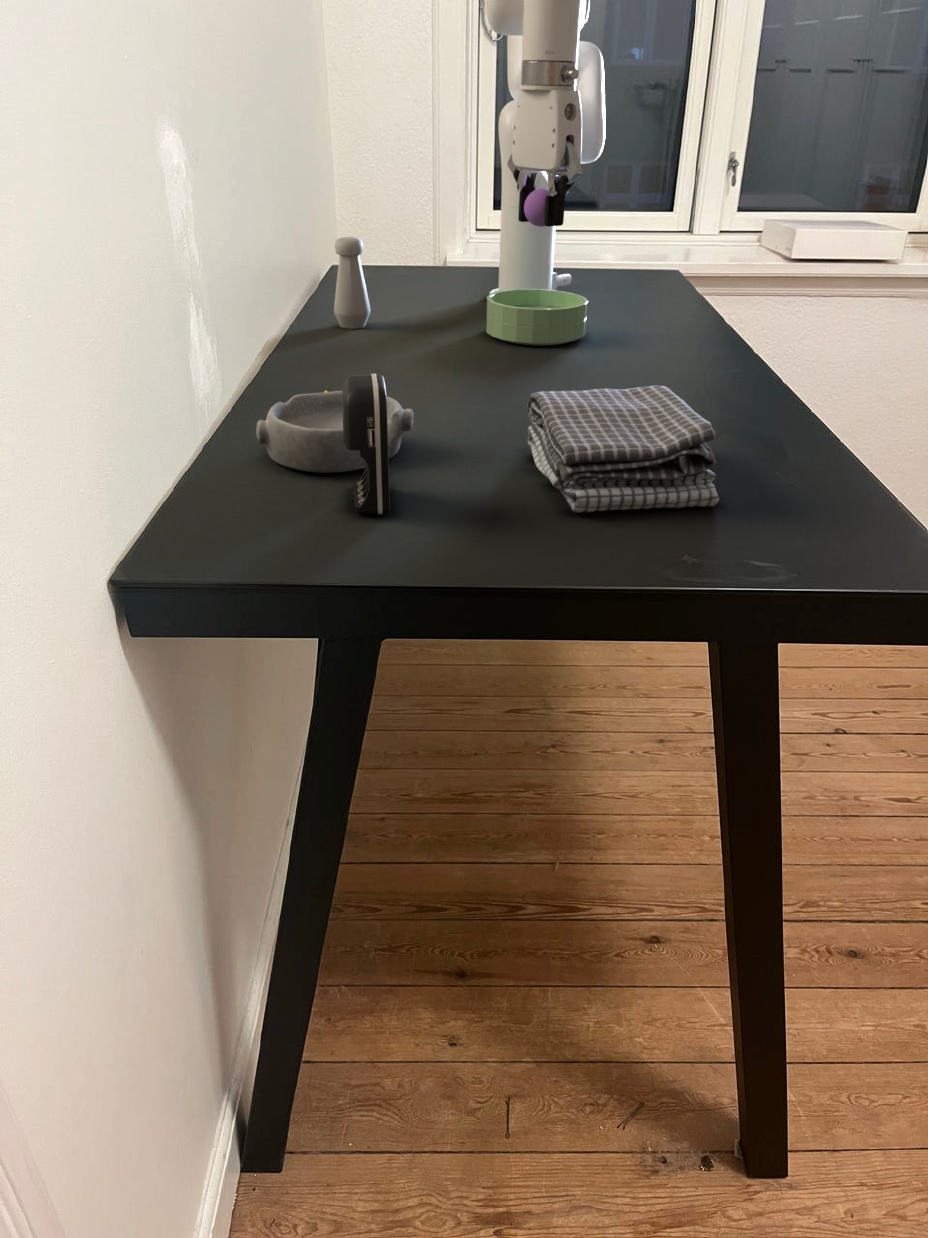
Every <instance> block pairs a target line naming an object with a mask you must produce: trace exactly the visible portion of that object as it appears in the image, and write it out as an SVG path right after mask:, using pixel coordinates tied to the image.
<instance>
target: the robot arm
mask: <svg viewBox="0 0 928 1238" xmlns="http://www.w3.org/2000/svg"><path fill="white" fill-rule="evenodd" d="M590 7H591V0H485V13H486V19H487V23H488V25H489V27H490V29H491V30H492V31H493V32H495V34H497V35H501V36H507V50H506V51H507V54H506V55H507V59H506V60H507V61H506V63H507V66H506V67H507V86H508V91H509V93H510V97H512V99H513V100H511V101H508V102H507V103H506V104H505V105H504V106H503V108H502V109H501V111H500V114H499V117H498V140H499V150H500V162H501V163H500V164H501V199H500V200H501V202H500V203H501V204H500V228H499V229H500V230H499V231H500V232H499V233H500V235H499V257H498V258H499V261H498V288H494V289H492V290H491V291H489V295H490V294H491V293H495V292H498V291H505V290H513V289H546V290H557V288H559V286H563V287H564V286H569V285H570V284H571V283H572V279H573V278H572V275H571V274H570V273H561V274H559V275H558V272H555V271H554V257H555V241H556V227H560V226H563V225H564V219H565V218H564V217H565V206H566V205H565V203H566V196H569V193H570V188H572V187H573V185H574V184H575V181H576V180H577V179H578V178H579V177H580V176H581V175H582V174H583V172H584V171H583V170H584V169H583V166H582V164H583V165H585V164H591V163H593V162H595V161H597V160H598V159H599V158H600V156H601V154H602V153H603V150H604V146H605V140H606V94H605V93H606V92H605V91H606V90H605V88H606V87H605V68H604V58H603V55H602V52H601V50H600V49H599V47H598V46H597V45H596V44H595V43H593V42H591V41H585V40H580V32H581V30H582V29H583V27H584V25H585V24H586V23H587V22H588V19H589V15H590V14H589V13H590ZM557 177H559V179H558V180H557ZM537 189H547V190H549V194H550V195H548V196H546V200H545V218H544V224H545V226H542V227H539V226H535V225H533V224H532V223H530V222H529V221H528V219H527V218H526V216H525V212H524V204H525V201H526V198H527V197H528V195H529V194H530V193H531V192H533V191H534V190H537Z"/></svg>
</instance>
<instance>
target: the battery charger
mask: <svg viewBox="0 0 928 1238" xmlns="http://www.w3.org/2000/svg"><path fill="white" fill-rule="evenodd" d="M386 388H387V387H386V383H385V377H384V375H382V374H377V373H370V374H355V375H350V376H348V377H347V378H346V379H345V380H344V382H343V385H342V391H343V440H344V444H345V445H346V448H347V449H349V450H358V451H360V456H361V457H362V458H363V459H364V460H365V461H366V463H367V464H366V468H364V471H363V473H362V475H361V477H360V478H359V480H358V481H357V482H356V483H355V484H354V485H353V502H354V509H355V511H356V512H357V513H358V514H365V515H379V516H382V515H384V514H389V513H390V511H391V502H390V501H391V500H390V498H391V497H390V496H391V495H390V494H391V493H390V461H389V460H390V458H389V455H388V419H387V396H388V395H387V390H386Z"/></svg>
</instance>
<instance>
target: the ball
mask: <svg viewBox="0 0 928 1238" xmlns="http://www.w3.org/2000/svg"><path fill="white" fill-rule="evenodd" d="M548 195H550V194H549V190H547V189H537V190H534V191H533V192H531V193H530V194H529V195H528V197H527V198H526V201H525V204H524V212H525V216H526V218H527V219H528V221H529V222H530V223H532V224H533V225H535V226H539V227H542V226H545V224H544V218H545V200H546V196H548Z"/></svg>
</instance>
